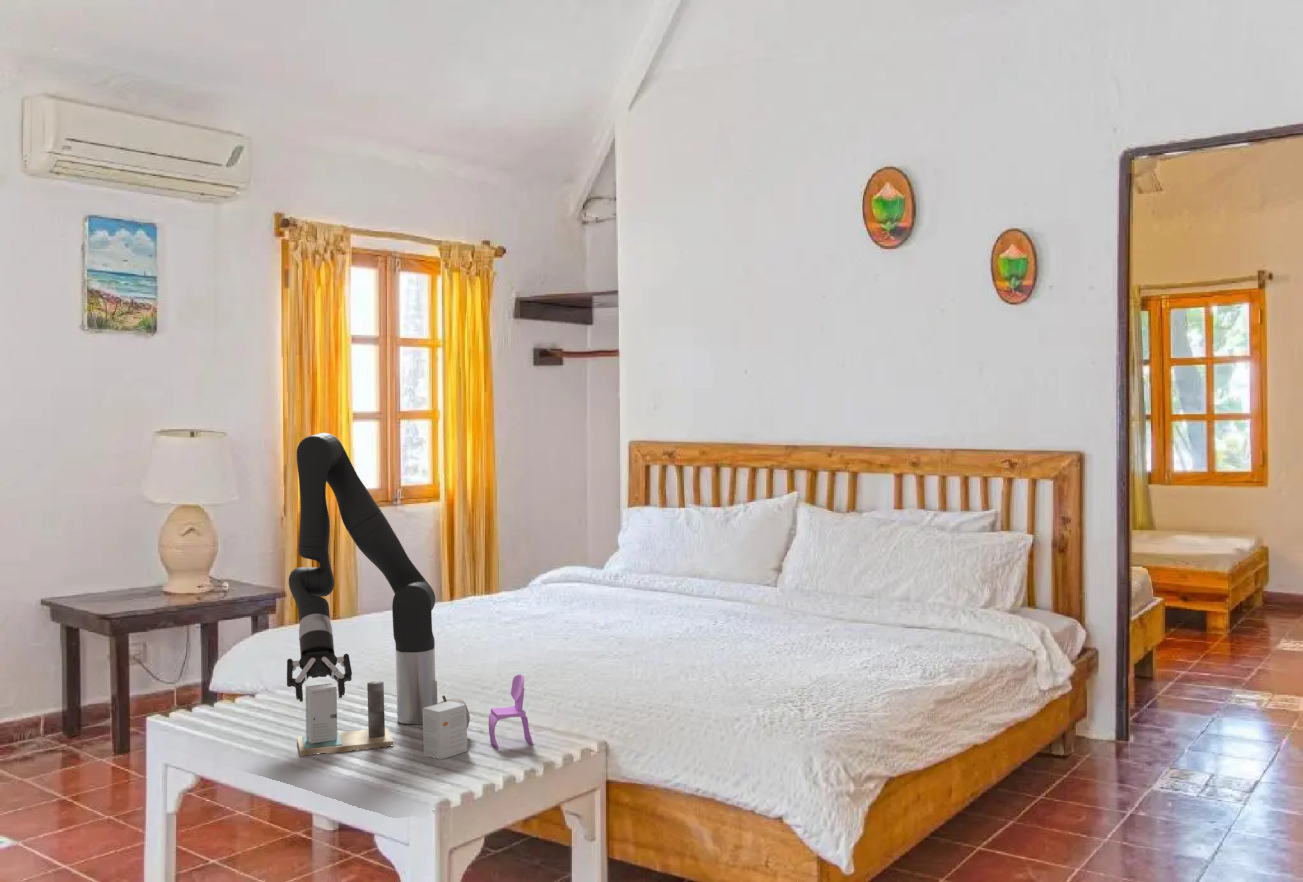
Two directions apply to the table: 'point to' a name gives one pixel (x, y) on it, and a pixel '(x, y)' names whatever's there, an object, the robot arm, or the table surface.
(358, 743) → the board
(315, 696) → the skincare box
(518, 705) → the toy chair
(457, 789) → the table surface
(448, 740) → the small box
